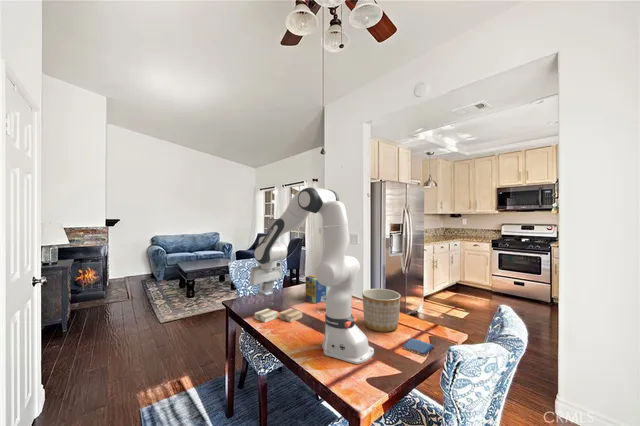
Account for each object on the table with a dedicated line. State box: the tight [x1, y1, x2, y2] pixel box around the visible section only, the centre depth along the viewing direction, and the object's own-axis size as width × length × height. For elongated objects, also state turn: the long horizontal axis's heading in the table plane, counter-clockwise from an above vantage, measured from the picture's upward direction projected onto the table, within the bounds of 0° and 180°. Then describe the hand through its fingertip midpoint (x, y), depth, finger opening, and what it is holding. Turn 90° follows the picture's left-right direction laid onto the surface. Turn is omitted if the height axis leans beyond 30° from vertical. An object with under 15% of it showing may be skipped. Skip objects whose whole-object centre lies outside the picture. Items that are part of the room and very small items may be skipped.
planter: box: [361, 288, 402, 333], centre depth 141 cm, size 19×19×16 cm
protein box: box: [305, 274, 331, 305], centre depth 182 cm, size 10×15×16 cm
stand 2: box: [278, 307, 303, 323], centre depth 151 cm, size 9×9×3 cm
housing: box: [257, 280, 275, 298], centre depth 151 cm, size 8×5×8 cm, turn 50°
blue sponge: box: [401, 337, 435, 357], centre depth 118 cm, size 10×11×2 cm
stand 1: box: [254, 308, 279, 323], centre depth 151 cm, size 9×9×3 cm
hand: (266, 289), depth 151 cm, fingers closed on housing, 5 cm apart
